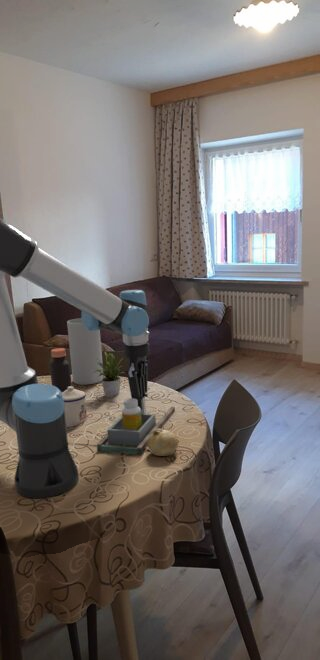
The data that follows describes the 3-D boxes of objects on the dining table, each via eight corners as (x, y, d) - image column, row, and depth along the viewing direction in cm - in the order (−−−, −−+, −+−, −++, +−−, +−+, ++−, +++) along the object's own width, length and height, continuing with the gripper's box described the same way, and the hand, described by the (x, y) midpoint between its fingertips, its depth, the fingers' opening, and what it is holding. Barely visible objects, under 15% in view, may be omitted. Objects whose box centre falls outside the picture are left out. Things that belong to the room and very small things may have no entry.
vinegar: (73, 406, 176) (67, 351, 172) (53, 408, 175) (47, 352, 171) (73, 400, 183) (68, 346, 179) (54, 402, 182) (48, 348, 178)
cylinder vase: (94, 374, 215) (89, 316, 210) (109, 380, 205) (104, 319, 200) (67, 381, 208) (61, 321, 203) (81, 387, 198) (75, 324, 193)
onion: (164, 444, 141) (163, 420, 140) (184, 452, 135) (183, 427, 134) (142, 454, 136) (141, 429, 134) (162, 463, 130) (161, 437, 129)
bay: (141, 454, 135) (141, 447, 135) (97, 450, 139) (96, 444, 139) (175, 412, 165) (174, 406, 164) (137, 410, 169) (137, 404, 168)
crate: (140, 445, 139) (139, 432, 138) (108, 443, 142) (107, 429, 141) (156, 427, 152) (155, 414, 151) (126, 425, 155) (125, 412, 154)
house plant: (86, 392, 191) (82, 350, 188) (121, 386, 196) (118, 345, 193) (97, 403, 178) (93, 358, 175) (133, 396, 183) (130, 352, 180)
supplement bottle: (141, 435, 144) (138, 403, 142) (122, 436, 144) (119, 404, 142) (143, 428, 149) (140, 397, 147) (125, 429, 150) (122, 397, 148)
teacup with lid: (86, 426, 158) (82, 390, 155) (57, 428, 158) (53, 392, 155) (90, 412, 169) (87, 379, 167) (63, 414, 169) (60, 381, 167)
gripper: (140, 348, 142) (145, 427, 146) (155, 338, 154) (159, 411, 158) (115, 347, 144) (121, 425, 149) (132, 337, 156) (137, 410, 161)
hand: (141, 418), depth 154 cm, fingers closed
